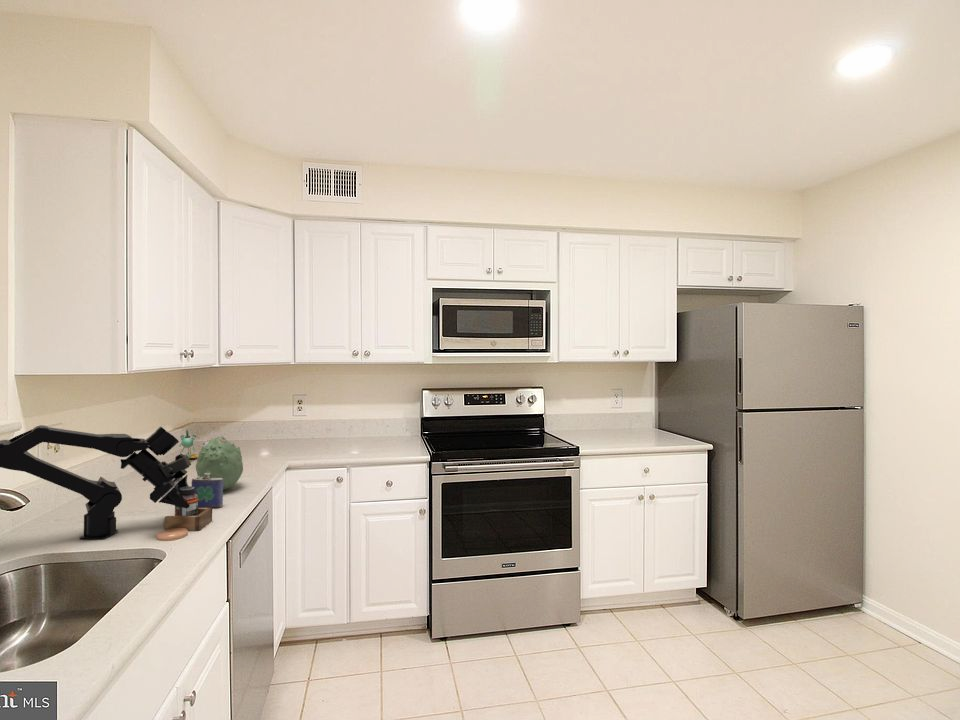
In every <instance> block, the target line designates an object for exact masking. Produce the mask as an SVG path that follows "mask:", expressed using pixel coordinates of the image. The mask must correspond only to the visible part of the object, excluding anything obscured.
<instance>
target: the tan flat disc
mask: <svg viewBox="0 0 960 720" xmlns="http://www.w3.org/2000/svg"><path fill="white" fill-rule="evenodd" d="M188 532H189V531H188V530H187V529H185V528H170V529H165V530H164V529H163V530H159V531H157V533H156V534H155V539H156V540H157V541H161V542H169V541H175V540H180V539H182V538H185V537H187V536H188Z"/></svg>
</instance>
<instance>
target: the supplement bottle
mask: <svg viewBox="0 0 960 720" xmlns="http://www.w3.org/2000/svg"><path fill="white" fill-rule="evenodd" d="M194 491H195V490H194V487H192V485H191V486H190V485H188V486H186V487H181V488H180V489H179V493H180V494H181V495H182V497H183V498H184V499H185V500H186V501H187V502H188V504H189V505H190V506H189V507H188V508H187V509H186V508H182V507H179V506H175V505H174V516H197V515H198V495H197V494H195V493H194Z"/></svg>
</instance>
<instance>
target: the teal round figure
mask: <svg viewBox="0 0 960 720" xmlns="http://www.w3.org/2000/svg"><path fill="white" fill-rule="evenodd" d="M196 437H197V436H196V435H194V434H193V435H192V437H191V435H189V429H186V430H185V435H184V434H182V435H180V440H181V443H180V445H179V447H181V446H182V447H183V448H182V449H181V451H180V454H182V453H183V452H184V449H185V448H186V449H188V451H189V452H187V453H185V454H183V455H184V456H186V455H187V457H189V458H190V459H189V461H190V463H192V460H191V459H197V457H198V454H199V453H198V454H195V453H192V452H191V451H192V450H193V451H194V452H195V451H196V450H195V449H196V448H195V446H194V440H195V438H196ZM191 447H192V450H191ZM180 454H179V455H180Z"/></svg>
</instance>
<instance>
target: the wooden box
mask: <svg viewBox="0 0 960 720" xmlns="http://www.w3.org/2000/svg"><path fill="white" fill-rule="evenodd" d="M163 520H164V522H163V523H164V524H163V527H164V528H163V530H165V529H170V528H185V529H187V530H188V532H199V531H201V530H202V529H203V528H205V527H206V526H207V525H209V524H210V523H211V522H213V508H198V515H197V516H175V515H165V516H164V519H163Z"/></svg>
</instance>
